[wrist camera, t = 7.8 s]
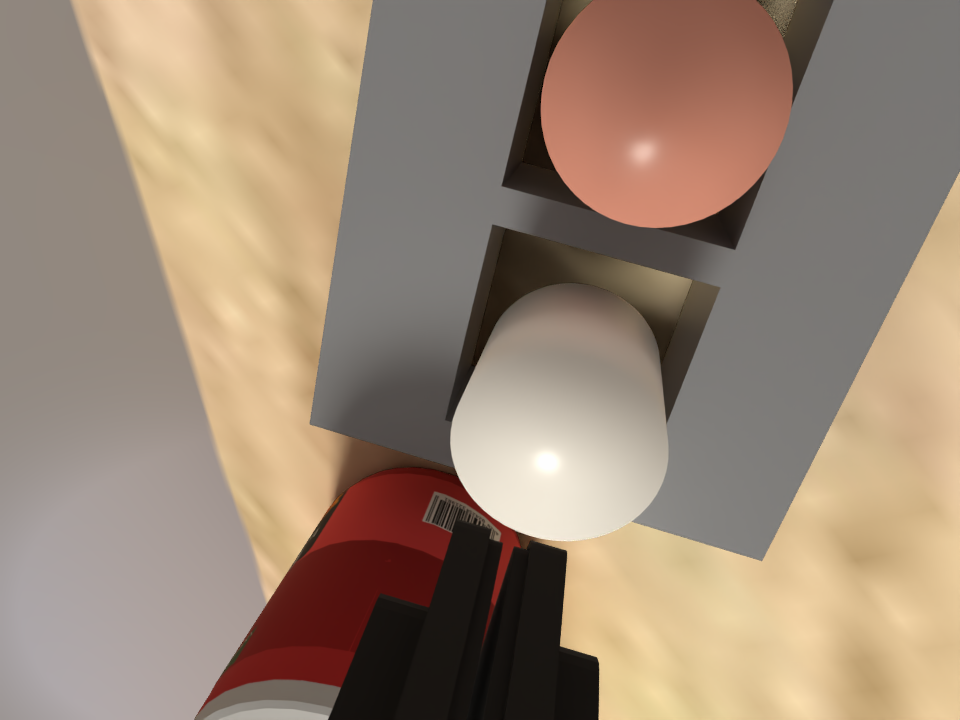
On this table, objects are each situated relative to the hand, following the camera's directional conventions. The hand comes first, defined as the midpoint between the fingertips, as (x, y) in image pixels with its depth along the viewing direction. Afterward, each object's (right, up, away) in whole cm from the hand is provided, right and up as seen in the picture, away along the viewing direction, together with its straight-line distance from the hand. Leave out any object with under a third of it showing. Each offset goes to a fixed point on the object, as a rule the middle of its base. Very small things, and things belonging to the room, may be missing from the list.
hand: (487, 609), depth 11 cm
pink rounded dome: (+4, +10, +7) cm, 13 cm away
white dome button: (+2, +4, +9) cm, 10 cm away
